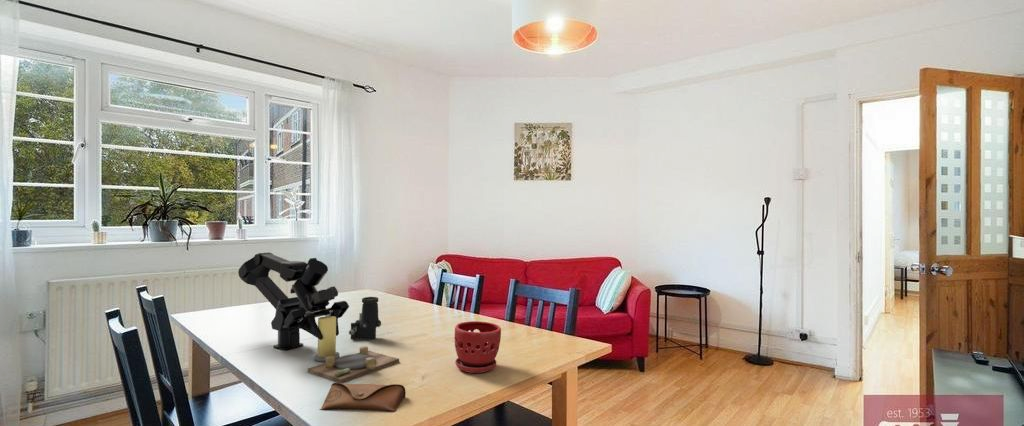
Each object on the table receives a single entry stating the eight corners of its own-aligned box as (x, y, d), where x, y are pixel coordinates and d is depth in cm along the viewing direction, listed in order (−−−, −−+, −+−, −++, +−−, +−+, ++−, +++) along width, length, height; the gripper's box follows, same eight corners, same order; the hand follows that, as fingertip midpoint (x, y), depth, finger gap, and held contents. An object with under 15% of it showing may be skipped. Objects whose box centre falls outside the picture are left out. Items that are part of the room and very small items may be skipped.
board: (307, 372, 126) (307, 359, 126) (367, 353, 143) (367, 342, 143) (341, 383, 118) (342, 370, 118) (400, 362, 135) (400, 350, 135)
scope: (359, 295, 164) (386, 296, 163) (359, 334, 164) (385, 335, 163) (347, 299, 156) (375, 301, 155) (347, 340, 156) (375, 342, 155)
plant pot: (464, 379, 122) (464, 334, 122) (447, 364, 134) (448, 322, 134) (508, 371, 128) (508, 328, 128) (488, 358, 140) (489, 318, 140)
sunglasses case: (315, 410, 102) (322, 379, 105) (326, 414, 108) (332, 384, 111) (397, 411, 102) (401, 380, 105) (403, 415, 108) (407, 385, 111)
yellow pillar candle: (309, 359, 137) (309, 318, 137) (329, 353, 143) (330, 314, 142) (323, 363, 133) (323, 322, 133) (344, 357, 139) (344, 317, 139)
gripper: (290, 282, 132) (312, 327, 126) (345, 275, 147) (368, 314, 141) (274, 306, 136) (296, 350, 130) (330, 297, 152) (351, 336, 146)
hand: (329, 336), depth 137 cm, fingers closed on yellow pillar candle, 5 cm apart
